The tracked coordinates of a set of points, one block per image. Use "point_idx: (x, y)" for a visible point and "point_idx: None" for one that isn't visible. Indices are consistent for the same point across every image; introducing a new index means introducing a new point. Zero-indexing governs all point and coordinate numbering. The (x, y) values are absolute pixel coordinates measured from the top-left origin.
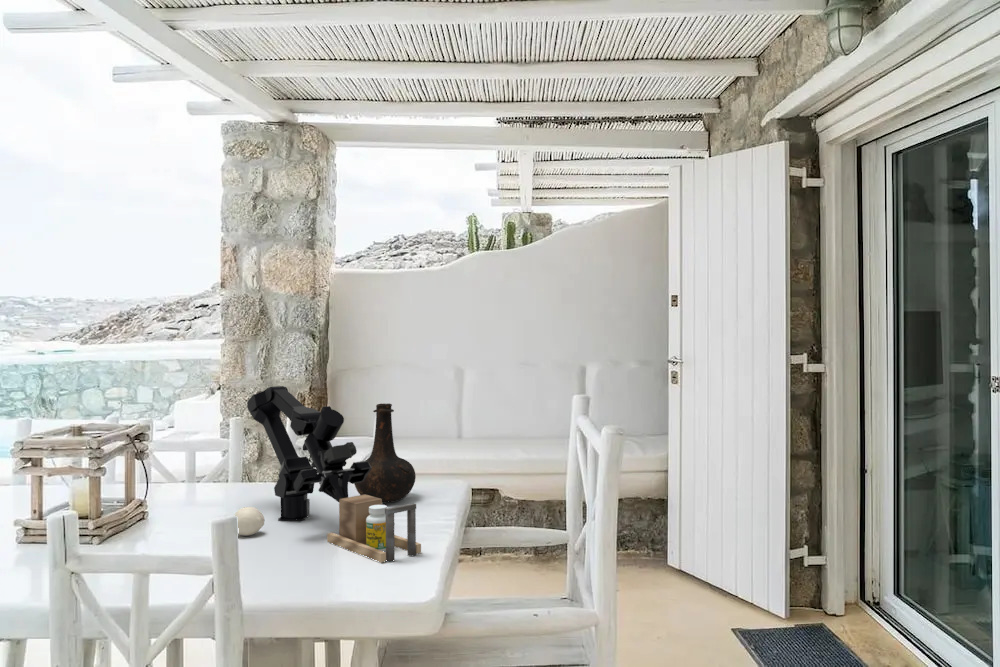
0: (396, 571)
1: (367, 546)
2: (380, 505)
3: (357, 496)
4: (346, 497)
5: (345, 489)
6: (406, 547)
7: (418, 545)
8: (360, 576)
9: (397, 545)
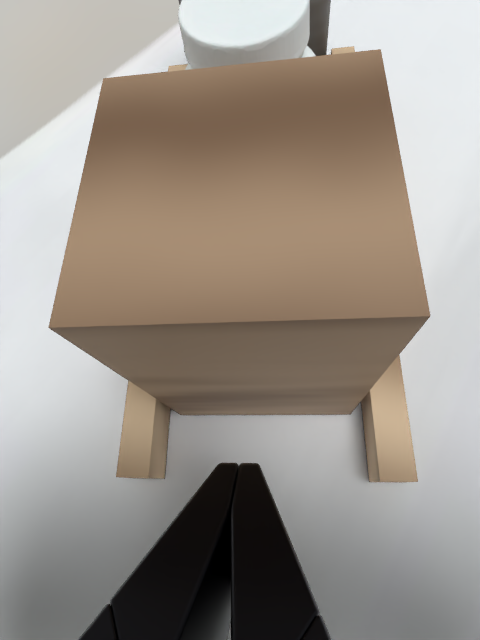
0: (351, 12)
1: None
2: (206, 17)
3: (180, 291)
4: (212, 508)
5: (149, 616)
6: None
7: (181, 68)
8: (470, 24)
9: None
